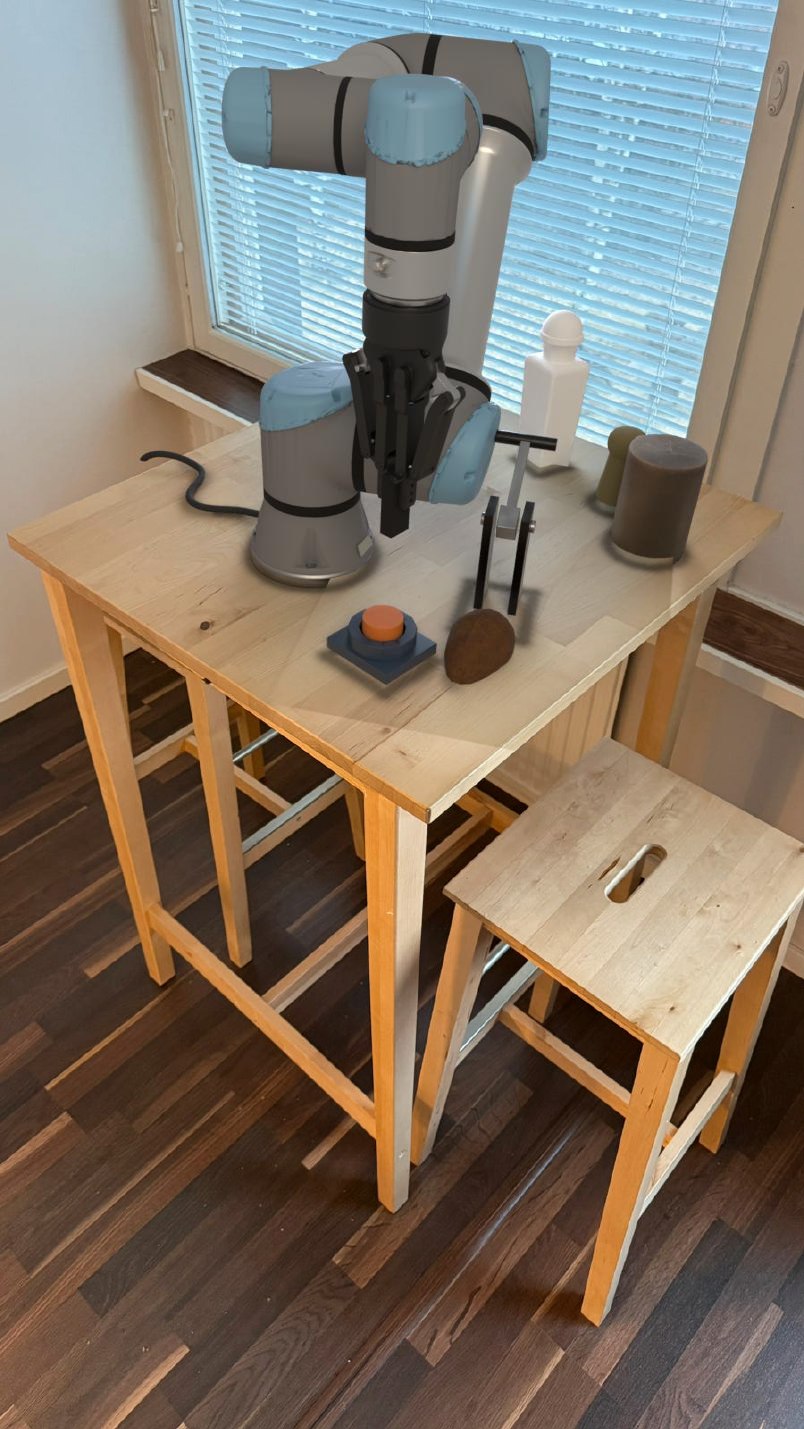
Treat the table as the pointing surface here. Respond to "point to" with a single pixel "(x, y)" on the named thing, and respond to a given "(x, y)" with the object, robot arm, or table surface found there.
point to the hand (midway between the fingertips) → (394, 530)
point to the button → (382, 623)
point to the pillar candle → (658, 495)
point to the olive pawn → (616, 463)
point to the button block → (382, 649)
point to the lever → (517, 477)
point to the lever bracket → (487, 548)
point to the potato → (478, 646)
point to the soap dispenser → (554, 388)
